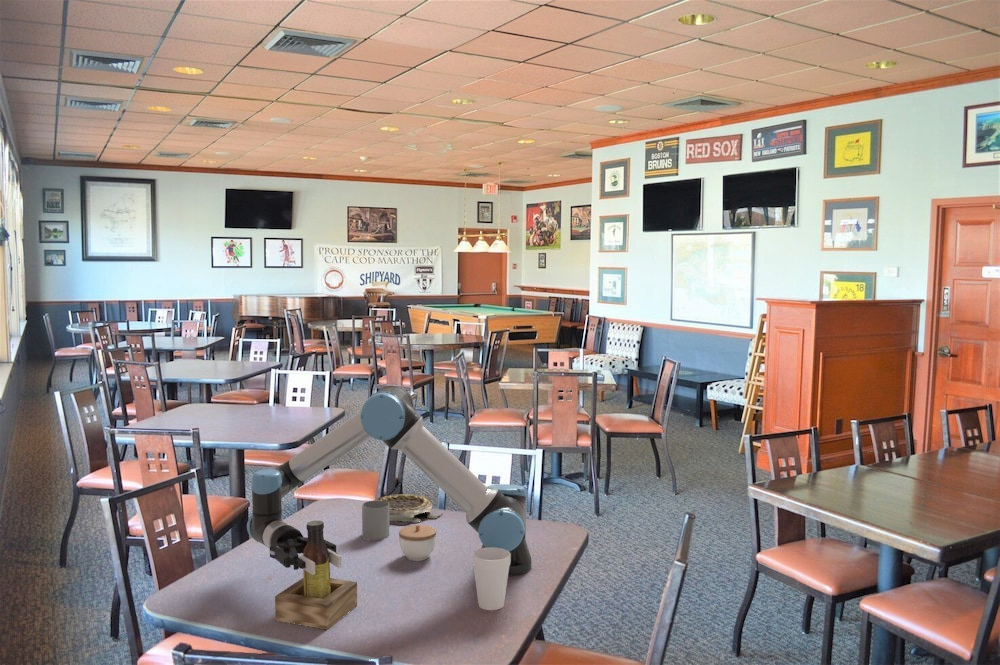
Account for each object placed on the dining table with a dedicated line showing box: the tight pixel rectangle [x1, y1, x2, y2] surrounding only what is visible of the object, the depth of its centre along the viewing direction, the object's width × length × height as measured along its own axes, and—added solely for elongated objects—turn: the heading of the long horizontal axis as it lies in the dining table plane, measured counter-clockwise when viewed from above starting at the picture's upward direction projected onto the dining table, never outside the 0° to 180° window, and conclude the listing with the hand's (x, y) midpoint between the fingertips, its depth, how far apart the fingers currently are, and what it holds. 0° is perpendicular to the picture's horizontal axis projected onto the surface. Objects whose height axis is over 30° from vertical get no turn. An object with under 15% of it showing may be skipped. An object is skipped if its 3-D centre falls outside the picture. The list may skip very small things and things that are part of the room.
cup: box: [361, 499, 390, 541], centre depth 243 cm, size 8×8×10 cm
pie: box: [372, 493, 443, 526], centre depth 267 cm, size 28×27×5 cm
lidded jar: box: [398, 524, 437, 562], centre depth 225 cm, size 11×11×9 cm
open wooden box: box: [274, 577, 358, 631], centre depth 188 cm, size 14×14×6 cm
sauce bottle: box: [302, 520, 331, 599], centre depth 187 cm, size 6×6×20 cm
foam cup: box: [472, 547, 511, 611], centre depth 193 cm, size 10×9×13 cm
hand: (326, 565), depth 183 cm, fingers closed on sauce bottle, 6 cm apart
